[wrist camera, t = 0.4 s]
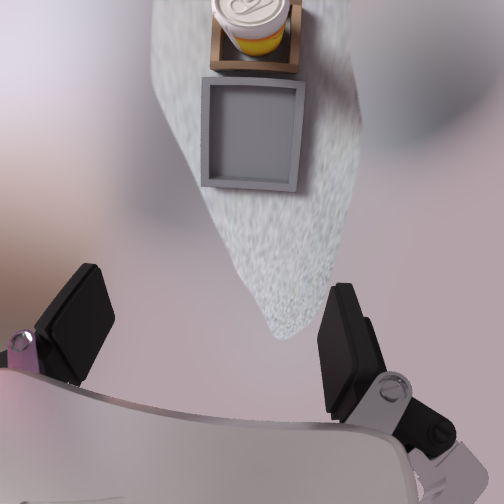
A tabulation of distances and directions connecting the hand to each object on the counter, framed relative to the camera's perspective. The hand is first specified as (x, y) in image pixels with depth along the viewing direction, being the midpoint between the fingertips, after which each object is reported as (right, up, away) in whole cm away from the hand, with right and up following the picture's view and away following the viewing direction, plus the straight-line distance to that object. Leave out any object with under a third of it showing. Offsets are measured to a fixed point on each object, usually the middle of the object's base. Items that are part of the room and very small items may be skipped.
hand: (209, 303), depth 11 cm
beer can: (+2, +28, +17) cm, 33 cm away
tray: (+2, +17, +23) cm, 29 cm away
